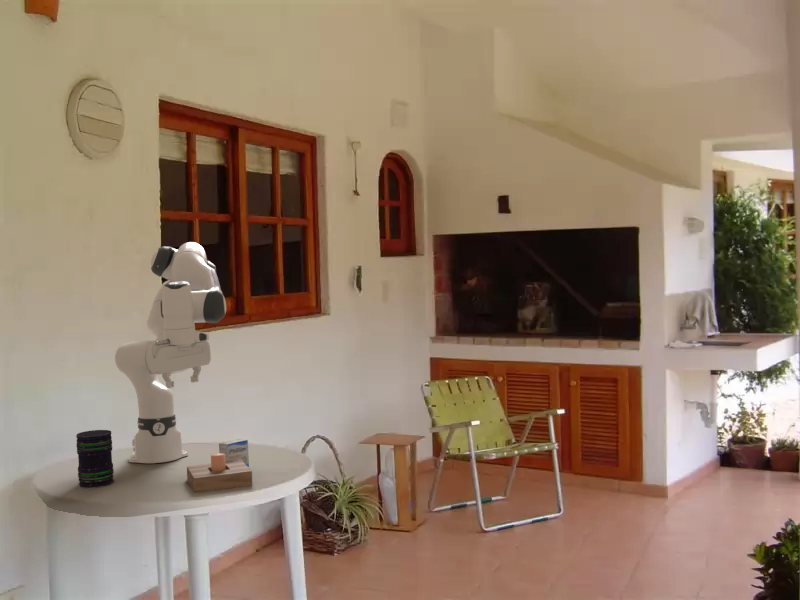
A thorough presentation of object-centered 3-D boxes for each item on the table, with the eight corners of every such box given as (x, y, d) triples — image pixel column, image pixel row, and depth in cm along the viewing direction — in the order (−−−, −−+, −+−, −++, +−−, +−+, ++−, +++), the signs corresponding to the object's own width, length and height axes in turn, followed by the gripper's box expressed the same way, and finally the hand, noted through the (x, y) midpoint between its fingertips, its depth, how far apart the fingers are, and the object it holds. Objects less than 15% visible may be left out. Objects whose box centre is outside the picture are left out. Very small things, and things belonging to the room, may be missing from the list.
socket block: (187, 479, 248) (186, 466, 248) (241, 472, 253) (241, 459, 253) (195, 492, 233) (194, 478, 233) (252, 485, 239) (251, 471, 238)
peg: (209, 482, 243) (207, 455, 243) (220, 479, 246) (219, 452, 246) (217, 484, 240) (216, 457, 240) (229, 481, 243) (227, 454, 243)
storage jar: (100, 477, 254) (98, 428, 253) (121, 481, 248) (118, 431, 248) (71, 485, 246) (68, 434, 245) (91, 489, 240) (89, 437, 239)
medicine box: (228, 472, 254) (227, 444, 254) (219, 470, 257) (218, 442, 257) (249, 467, 260) (248, 439, 260) (240, 465, 263) (239, 438, 263)
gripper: (159, 342, 233) (162, 391, 234) (212, 333, 250) (215, 379, 251) (143, 341, 236) (147, 390, 237) (197, 333, 253) (200, 378, 255)
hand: (182, 384), depth 244 cm, fingers open, 8 cm apart
